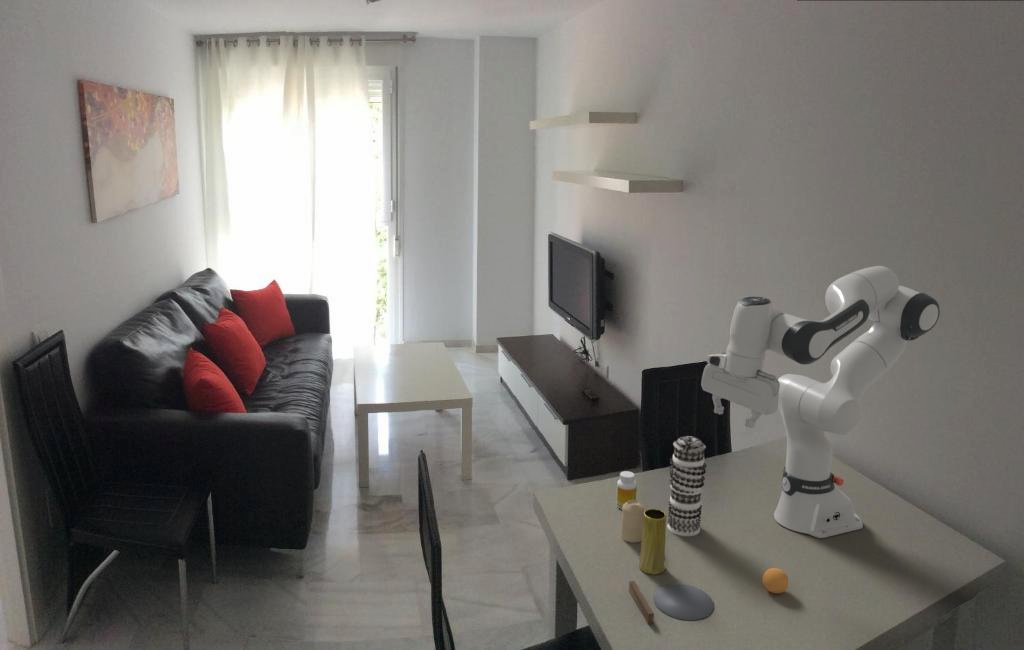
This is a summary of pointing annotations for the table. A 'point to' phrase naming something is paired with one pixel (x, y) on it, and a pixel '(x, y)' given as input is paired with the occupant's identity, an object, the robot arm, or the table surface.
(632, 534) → the candle
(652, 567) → the vase
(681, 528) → the decorative candle
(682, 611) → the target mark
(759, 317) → the robot arm
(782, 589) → the ball
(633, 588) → the stopper strip
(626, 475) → the supplement bottle
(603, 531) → the table surface
